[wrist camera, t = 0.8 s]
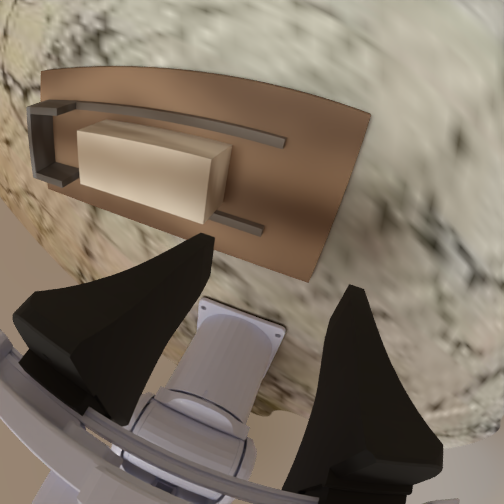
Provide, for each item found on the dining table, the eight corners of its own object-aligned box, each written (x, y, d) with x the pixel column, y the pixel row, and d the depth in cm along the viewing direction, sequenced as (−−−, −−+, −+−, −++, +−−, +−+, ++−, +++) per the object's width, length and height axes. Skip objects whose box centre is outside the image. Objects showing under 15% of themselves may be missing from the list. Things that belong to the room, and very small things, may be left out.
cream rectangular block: (223, 202, 19) (203, 224, 17) (106, 168, 20) (80, 183, 18) (232, 144, 17) (211, 159, 14) (106, 119, 18) (76, 130, 16)
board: (310, 275, 21) (302, 307, 19) (53, 185, 25) (30, 199, 22) (369, 113, 14) (374, 122, 11) (47, 69, 17) (18, 77, 15)
